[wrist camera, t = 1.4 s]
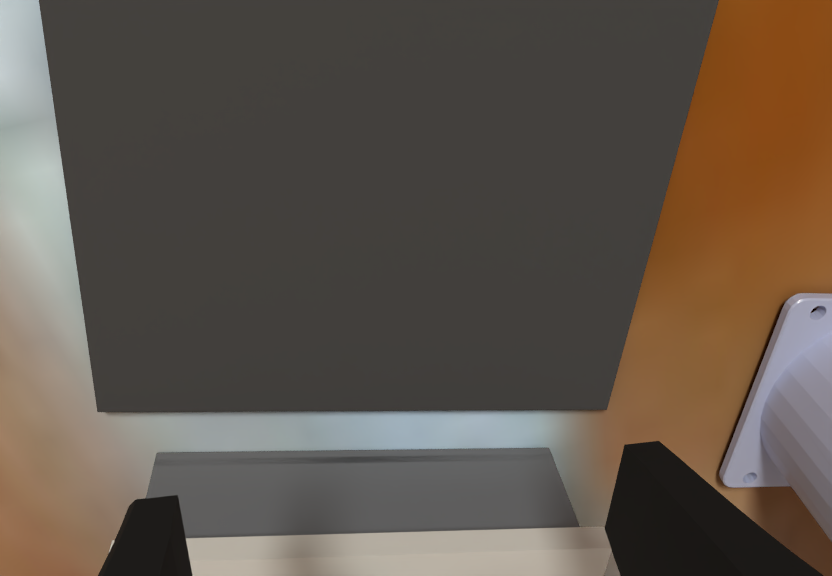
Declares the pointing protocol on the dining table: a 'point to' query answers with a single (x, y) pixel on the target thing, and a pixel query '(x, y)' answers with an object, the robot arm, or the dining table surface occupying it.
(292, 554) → the lid
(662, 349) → the dining table surface
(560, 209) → the mat
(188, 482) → the tub
